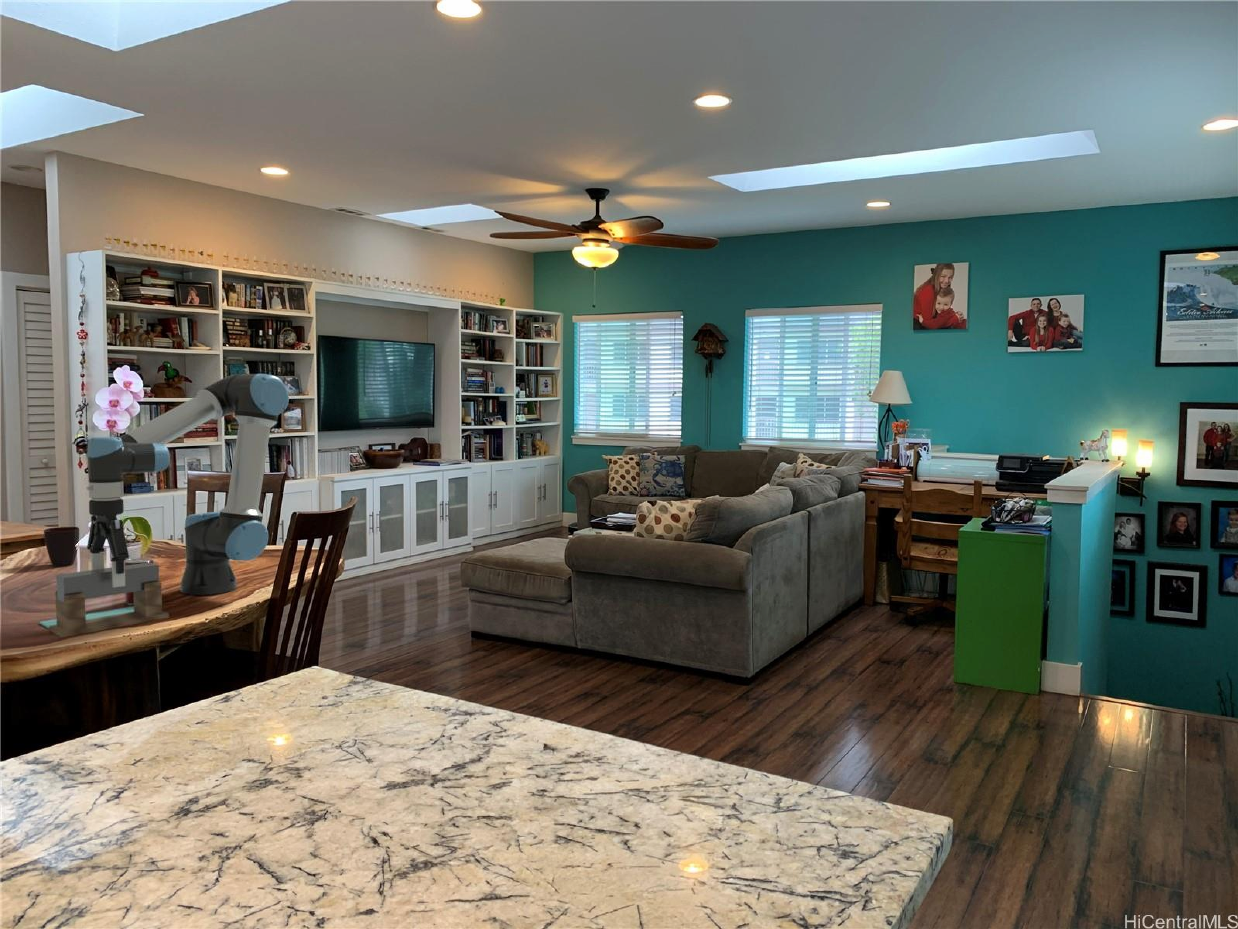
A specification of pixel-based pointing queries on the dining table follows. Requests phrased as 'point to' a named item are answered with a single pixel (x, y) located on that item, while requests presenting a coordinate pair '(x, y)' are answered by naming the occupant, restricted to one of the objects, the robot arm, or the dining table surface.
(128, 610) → the mat
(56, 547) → the cup
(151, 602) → the stand
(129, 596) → the soda can
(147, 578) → the rail
